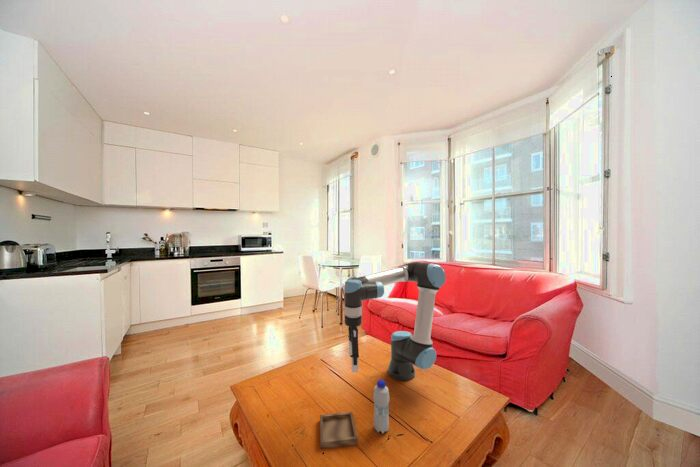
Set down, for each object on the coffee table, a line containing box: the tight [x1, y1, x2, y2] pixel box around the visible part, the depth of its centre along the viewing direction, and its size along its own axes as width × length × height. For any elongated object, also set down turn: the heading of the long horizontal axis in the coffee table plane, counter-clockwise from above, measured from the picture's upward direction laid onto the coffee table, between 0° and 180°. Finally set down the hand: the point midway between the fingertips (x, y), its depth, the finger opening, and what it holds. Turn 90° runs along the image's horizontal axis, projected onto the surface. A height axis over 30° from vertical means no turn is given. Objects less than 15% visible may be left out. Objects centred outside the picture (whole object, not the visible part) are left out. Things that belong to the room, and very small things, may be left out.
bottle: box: [372, 379, 390, 434], centre depth 101 cm, size 7×7×20 cm
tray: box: [319, 411, 358, 450], centre depth 100 cm, size 14×14×2 cm
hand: (353, 363), depth 109 cm, fingers open, 13 cm apart
